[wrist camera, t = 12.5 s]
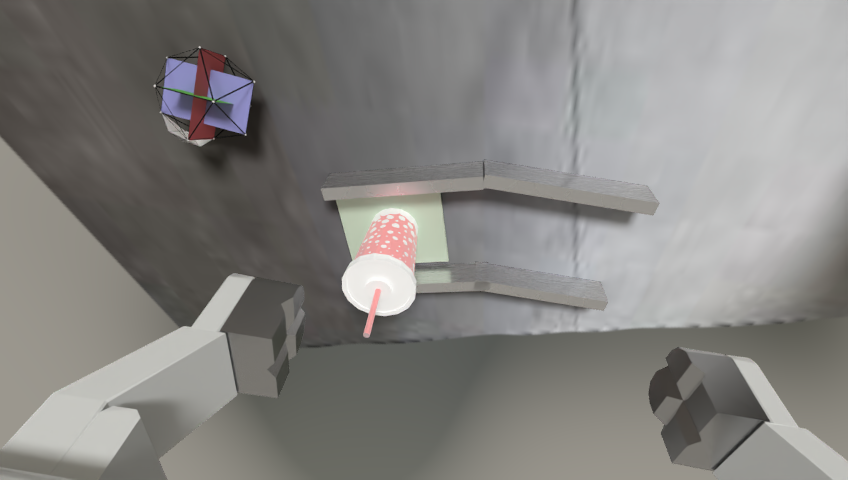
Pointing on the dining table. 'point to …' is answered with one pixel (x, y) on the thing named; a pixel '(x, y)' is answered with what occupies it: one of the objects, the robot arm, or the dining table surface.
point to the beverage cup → (384, 267)
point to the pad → (419, 206)
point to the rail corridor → (503, 179)
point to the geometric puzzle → (204, 97)
